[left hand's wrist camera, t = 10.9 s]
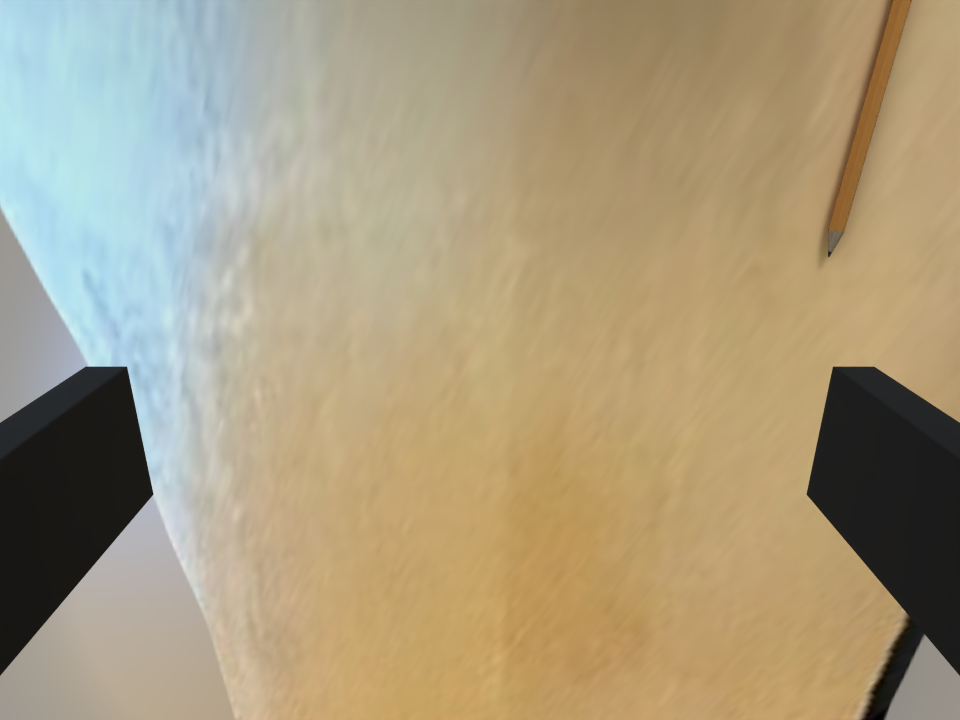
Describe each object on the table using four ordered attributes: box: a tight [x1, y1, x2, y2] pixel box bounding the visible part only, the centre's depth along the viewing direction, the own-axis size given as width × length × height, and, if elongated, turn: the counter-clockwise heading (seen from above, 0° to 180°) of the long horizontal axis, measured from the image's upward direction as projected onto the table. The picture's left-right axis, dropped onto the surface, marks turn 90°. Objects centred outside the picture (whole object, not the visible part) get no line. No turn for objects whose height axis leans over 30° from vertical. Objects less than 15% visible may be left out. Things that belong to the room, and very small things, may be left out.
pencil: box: [828, 0, 911, 257], centre depth 38 cm, size 1×1×19 cm
